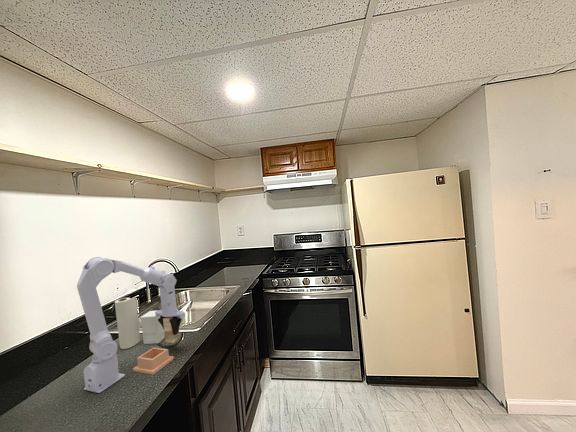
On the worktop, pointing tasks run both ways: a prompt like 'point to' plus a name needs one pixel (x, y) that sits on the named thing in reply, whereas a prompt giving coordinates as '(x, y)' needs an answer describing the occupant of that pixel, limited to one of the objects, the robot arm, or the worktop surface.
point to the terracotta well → (153, 361)
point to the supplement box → (151, 328)
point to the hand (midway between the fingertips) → (171, 333)
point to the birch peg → (169, 331)
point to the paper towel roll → (127, 322)
